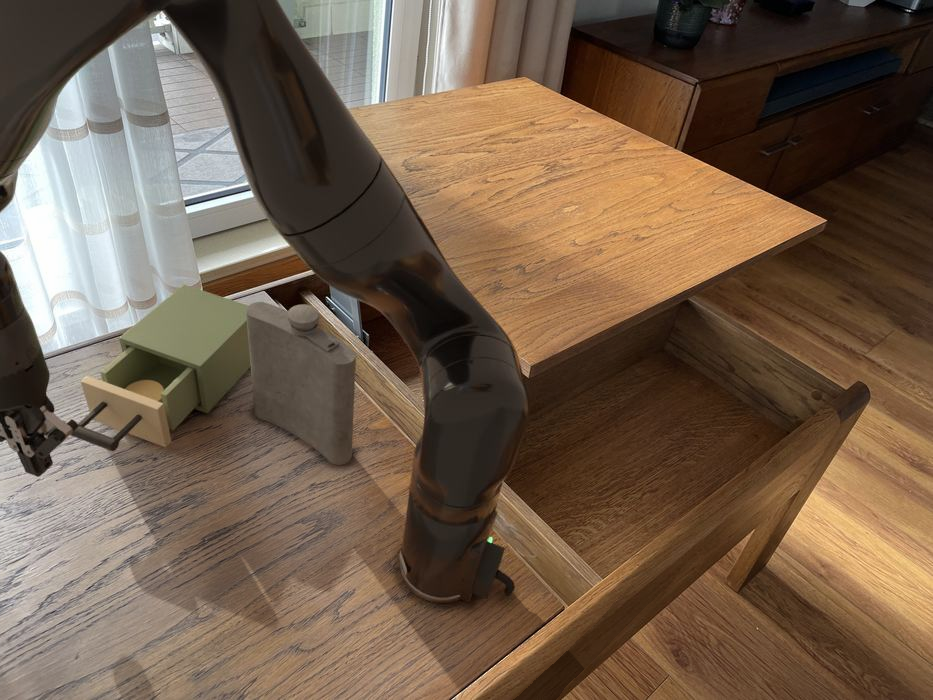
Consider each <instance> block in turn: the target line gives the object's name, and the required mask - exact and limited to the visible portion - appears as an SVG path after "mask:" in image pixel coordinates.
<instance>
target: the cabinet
mask: <svg viewBox="0 0 933 700" xmlns="http://www.w3.org/2000/svg"><path fill="white" fill-rule="evenodd" d="M248 306H249V304H244V303H241V302H239V301H236V300H232V299H229V298H227V297H224V296H220V295H217V294H214V293H211V292H209V291H205V290H202V289H200V288H197V287H193V286H190V285H187V284H182V285H181V286H180V287H178V288H177V289H176V290H175V291H174V292H173V293H171V294H170V295H169V296H168V297H166V298H165V299H164V300H163V301H161V302H160V303H159V304H158V305H157V306H156V307H154V308H153V309H152V310H151V311H150V312H147V314H146V315H145V316H143V317H142V318H141V319H140V320H138V321H137V322H136V323H135V324H133V326H131V327H130V328H129V329H128V330H127V331H125V332H124V333H122V335H120V336H119V337H118V339H119V344H120V349H121V352H122V353H123V352H124V351H125V350H126V349H128V348H129V347H130V346H132V347H135V348H138V349H141V350H143V351H146V352H149V353H152V354H155V355H158V356H160V357H163V358H166V359H169V360H172V361H175V362H178V363H180V364H183V365H186V366H189V367H192V368H195V369H196V372H197V379H198V385H199V392H200V398H201V402H200V403H199V404H198V405H197V406H196V407H195V408H194V409H193V410H197V411H199V412H202V413H204V414H209V413H210V412H211V411H212V409H214V407H215V406H216V405H217V404H218V403H219V402H220V401H221V399H223V397H224V396H225V395H226V394H227V393H228V392H229V391H230V390H231V389H232V388H233V387H234V385H235V384H236V383H237V382H238V381H239V380H240V379H241V378H242V377H243V375H245V373H246V372H248V371H249V369H251V363H250V351H249V340H248V328H247V316H246V308H247V307H248ZM122 353H121V354H122Z"/></svg>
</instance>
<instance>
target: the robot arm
mask: <svg viewBox="0 0 933 700" xmlns="http://www.w3.org/2000/svg"><path fill="white" fill-rule="evenodd" d="M161 12H162V14H164V16H165V17H166V18H167V19H168V21H169V22H170V24H171V25H172V26H173V27H174V29H175V30H176V31H177V33H178V34H179V35H180V36H181V37H182V39H183V40H184V41H185V43H186V44H187V45H188V47H189V48H190V49H191V50H192V52H193V54H194V55H195V56H196V58H197V60H198V61H199V62H200V64H201V66H202V67H203V69H204V70H205V72H206V74H207V75H208V78H209V79H210V81H211V83H212V85H213V87H214V89H215V92H216V95H217V96H218V99H219V101H220V104H221V107H222V109H223V113H224V115H225V118H226V122H227V125H228V127H229V131H230V135H231V136H232V140H233V143H234V146H235V149H236V152H237V155H238V158H239V161H240V165H241V166H242V170H243V174H244V175H245V178H246V181H247V183H248V186H249V189H250V191H251V193H252V195H253V198H254V199H255V201H256V203H257V205H258V207H259V209H260V210H261V212H262V213H263V215H264V216H265V218H266V220H267V221H268V222H269V223H270V225H271V226H272V227H273V229H275V231H276V232H277V233H278V234H279V236H281V237H282V239H283V240H284V241H285V242H286V244H288V246H289V247H290V248H291V250H293V251H294V253H295V254H296V255H297V256H298V257H299V258H300V259H301V261H302V262H303V263H304V264H305V265H306V266H307V267H308V268H309V269H310V270H311V272H313V273H314V274H315V275H316V276H317V277H318V278H319V279H320V280H321V281H322V282H324V283H325V284H327V285H328V286H330V287H331V288H333V289H334V290H336V291H337V292H340V293H342V294H344V295H346V296H347V297H350V298H352V299H355V300H357V301H359V302H361V303H365V304H366V305H368V306H370V307H372V308H374V309H375V310H377V311H378V312H380V313H381V314H382V315H383V316H384V317H385V318H386V319H387V320H388V321H389V323H390V324H391V325H392V326H393V328H394V329H395V330H396V331H397V333H398V335H399V336H400V337H401V339H403V341H404V343H405V344H406V345H407V347H408V348H409V350H410V352H411V354H412V355H413V357H414V359H415V361H416V363H417V366H418V369H419V372H420V379H421V389H422V397H423V411H424V415H423V417H424V418H423V426H422V427H423V428H422V435H421V436H419V437H420V438H419V439H418V440H417V443H416V444H415V447H414V453H413V460H412V466H411V475H410V482H409V489H408V497H407V498H408V499H407V508H406V515H405V521H404V522H405V523H404V530H403V538H402V545H401V546H402V547H401V550H399V571H400V576H401V578H402V581H403V584H405V586H406V587H407V589H408V590H409V591H411V592H412V593H413V594H414V595H415V596H416V597H418V598H421V599H422V600H425V601H427V602H432V603H436V604H447V603H453V602H457V601H462V602H466V603H469V602H470V601H471V599H472V596H473V595H476V596H478V597H481V598H484V599H486V600H488V599H489V596H490V594H491V591H492V588H493V586H494V583H495V579H496V580H498V581H500V582H501V583H503V584H504V585H505V587H504V589H503V594H504V595H506V596H508V597H509V596H511V595H512V594H513V592H514V591H515V588H516V587H515V582H514V580H513V579H512V578H511V577H510V576H509V575H507V574H505V573H504V572H503V571H501V570H500V565H501V563H502V560H503V555H504V553H505V549H506V547H505V546H501V545H499V544H497V543H493V537H492V535H493V531H494V527H495V523H496V521H497V520H496V519H497V515H498V511H497V506H498V502H499V498H500V494H501V490H502V487H503V482H504V481H505V480H506V479H508V477H509V476H510V474H511V473H512V471H513V470H514V467H515V465H516V462H517V458H518V457H519V453H520V449H521V447H522V443H523V442H524V441H523V440H524V437H525V434H526V432H527V428H528V424H529V419H530V412H531V411H530V410H531V404H530V403H531V402H530V396H529V391H528V389H527V384H526V381H525V377H524V373H523V369H522V365H521V362H520V359H519V354H518V352H517V349H516V347H515V345H514V343H513V342H512V339H511V338H510V336H509V335H508V333H506V331H505V330H504V329H503V327H502V326H501V325H500V324H499V323H498V322H497V320H496V319H494V318H493V316H492V315H491V313H490V312H489V311H488V310H487V309H486V308H485V307H484V306H483V305H482V304H481V303H480V302H479V301H478V299H477V298H476V297H475V296H474V294H472V292H470V290H469V289H468V288H467V287H466V286H465V284H464V283H463V282H462V281H461V280H460V278H459V277H458V275H457V274H456V273H455V271H454V270H453V269H452V266H451V265H450V264H449V262H448V260H447V258H446V257H445V255H444V252H443V251H442V250H441V248H440V246H439V243H438V242H437V240H436V239H435V237H434V235H433V233H432V232H431V230H430V229H429V227H428V226H427V223H425V221H424V219H423V218H422V216H421V215H420V213H419V211H418V209H417V208H416V207H415V205H414V203H413V202H412V200H411V198H410V196H409V195H408V193H407V192H406V190H405V189H404V187H403V185H402V184H401V182H400V181H399V180H398V178H397V177H396V175H395V174H394V173H393V171H392V170H391V168H390V166H389V164H387V162H386V161H385V159H384V158H383V156H382V155H381V153H380V152H379V150H378V149H377V148H376V146H375V145H374V144H373V142H372V140H371V139H370V138H369V136H368V135H367V134H366V133H365V132H364V130H363V129H362V127H361V126H360V124H359V123H358V122H357V120H356V119H355V117H354V116H353V114H352V113H351V111H350V110H349V109H348V107H347V105H346V104H345V103H344V101H343V99H342V98H341V96H340V94H339V93H338V91H337V90H336V88H335V87H334V85H333V83H332V82H331V81H330V79H329V78H328V76H327V75H326V73H325V72H324V70H323V68H322V67H321V66H320V64H319V63H318V61H317V60H316V58H315V56H314V55H313V53H312V52H311V51H310V50H309V48H308V47H307V45H306V44H305V42H304V40H303V39H302V37H301V36H300V33H298V31H297V30H296V28H295V26H294V25H293V24H292V22H291V20H290V18H289V17H288V15H287V13H286V12H285V10H284V8H283V7H282V5H281V3H280V1H279V0H0V214H1V213H2V212H3V211H4V210H6V208H8V206H9V205H10V204H11V203H12V201H13V200H14V198H15V195H16V188H17V182H18V176H19V169H20V168H21V166H22V165H23V164H24V163H25V161H26V160H27V158H28V157H29V156H30V155H31V153H32V152H33V151H34V149H35V148H36V146H37V145H38V143H39V142H40V141H41V139H42V138H43V136H44V135H45V133H46V131H47V130H48V129H49V127H50V124H51V122H52V120H53V117H54V115H55V111H56V108H57V103H58V98H59V96H60V94H61V93H62V92H63V90H64V88H65V87H66V86H67V84H68V83H69V82H70V81H71V80H72V79H73V78H74V77H75V75H76V74H77V73H78V72H79V71H80V70H81V69H83V68H84V67H85V66H86V65H88V63H90V62H92V60H93V59H95V58H96V57H98V56H99V55H100V54H102V53H103V52H105V50H107V49H108V48H109V47H111V46H112V45H113V44H115V43H116V42H118V41H119V40H120V39H122V38H123V37H124V36H126V35H127V34H129V33H130V32H132V31H133V30H134V29H136V28H137V27H139V26H141V25H142V24H144V23H146V22H148V21H150V20H152V19H154V18H155V17H157V16H159V14H160V13H161ZM50 377H51V375H50V370H49V367H48V364H47V361H46V358H45V356H44V351H43V349H42V346H41V343H40V340H39V337H38V333H37V330H36V327H35V324H34V322H33V319H32V318H31V315H30V314H29V312H28V310H27V308H26V305H25V304H24V301H23V298H22V294H21V292H20V289H19V286H18V282H17V280H16V276H15V275H14V271H13V268H12V266H11V264H10V261H9V260H8V258H7V256H6V255H5V254H4V253H3V252H2V251H1V250H0V443H3V442H5V441H6V442H7V445H8V446H9V448H10V449H11V450H12V451H13V452H16V453H17V456H18V458H19V461H20V464H21V465H22V466H23V469H24V472H25V473H27V474H29V475H32V476H34V477H37V478H39V477H41V476H42V475H44V474H45V473H46V472H47V471H48V470H49V469H50V468H51V467H52V466H53V464H54V461H53V459H52V456H51V453H53V452H54V450H55V449H57V448H58V447H59V446H60V445H61V444H62V443H63V442H65V441H66V439H68V438H69V437H70V436H71V435H70V434H72V433H73V432H74V431H75V430H76V429H77V428H78V422H76V421H75V420H74V419H72V418H68V419H67V420H66V421H65V420H64V419H61V418H60V417H59V416H57V415H56V414H55V405H54V404H53V402H52V401H51V399H50V398H49V396H48V395H47V390H48V387H49V382H50Z"/></svg>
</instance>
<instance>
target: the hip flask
mask: <svg viewBox="0 0 933 700" xmlns="http://www.w3.org/2000/svg"><path fill="white" fill-rule="evenodd" d="M246 316H247V328H248V340H249V351H250V363H251V367H250V373H251V374H250V375H251V385H252V397H253V408H254V409H253V410H254V414H255V417H257V418H258V419H261V420H263V421H265V422H268V423H271V424H273V425H275V426H276V427H279V428H281V429H283V430H285V431H287V432H289V433H290V434H292V435H294V436H295V437H296V438H299V439H300V440H302V441H303V442H305V443H306V444H308V445H309V446H311V447H312V448H313V449H315V450H316V451H317V452H318V453H320V454H321V455H322V456H323V457H324V458H325V459H326V460H327V461H328V462H330V463H331V464H333V465H335V466H342V465H346V464H348V463H349V462H351V460H352V457H353V439H354V438H353V436H354V435H353V434H354V412H355V409H354V408H355V389H356V387H355V386H356V363H357V354H356V352H355V350H354V349H353V348H351V347H350V346H349V345H347V344H346V343H345V342H343V341H342V340H341V339H340V338H338V337H337V336H335V335H333V334H332V333H331V332H329V331H327V330H325V329H324V328H322V327H320V326H319V325H318V324H319V321H320V312H319V310H318V308H316V307H315V306H313V305H311V304H304V303H303V304H302V303H301V304H297V305H294V306H292V307H290V308H289V309H288V310H287V309H285V308H282V307H279V306H276V305H273V304H271V303H268V302H264V301H256V302H252V303H250V304H248V307H247V308H246Z"/></svg>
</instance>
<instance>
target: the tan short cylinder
mask: <svg viewBox="0 0 933 700" xmlns="http://www.w3.org/2000/svg"><path fill="white" fill-rule="evenodd" d="M125 390H128V391H131V392H134V393H136V394H139V395H142V396H145V397H147V398H150V399H153V400H156V401H158V402H161V403H162V398H161V393H162V392H163V391H164V388H163V386H162V385H161V384H160V383H158V382H156V381H152V380H141V381H137V382H134V383H132V384H130V385H128V386H127V387H126V388H125Z"/></svg>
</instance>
